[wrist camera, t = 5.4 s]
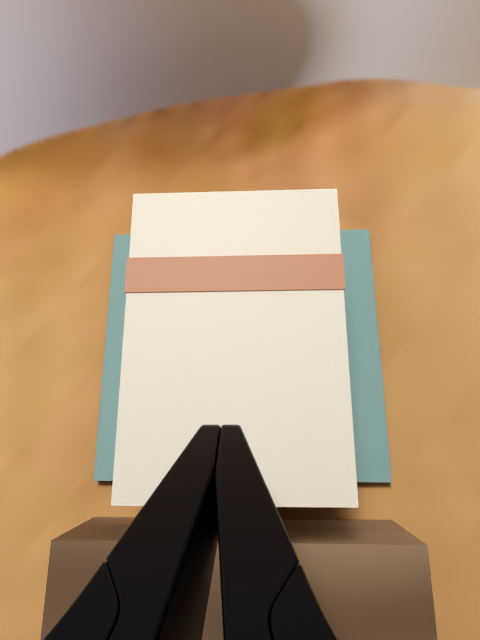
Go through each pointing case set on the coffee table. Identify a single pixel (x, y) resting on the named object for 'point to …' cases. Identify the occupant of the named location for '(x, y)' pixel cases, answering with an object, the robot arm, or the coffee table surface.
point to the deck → (318, 564)
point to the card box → (237, 341)
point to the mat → (360, 354)
